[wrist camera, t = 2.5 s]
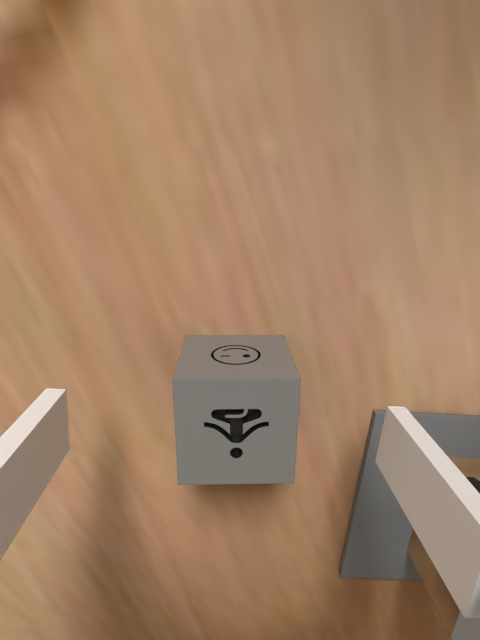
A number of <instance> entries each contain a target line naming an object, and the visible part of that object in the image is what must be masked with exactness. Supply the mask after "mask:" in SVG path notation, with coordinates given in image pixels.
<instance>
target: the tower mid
mask: <svg viewBox="0 0 480 640" xmlns="http://www.w3.org/2000/svg"><path fill="white" fill-rule="evenodd" d="M451 639H452V640H480V618H464V617H463V615H462V613H461V611H460V613H459V616H458V619H457V622H456V624H455V627H454V630H453V633H452V636H451Z"/></svg>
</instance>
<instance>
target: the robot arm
mask: <svg viewBox="0 0 480 640" xmlns="http://www.w3.org/2000/svg"><path fill="white" fill-rule="evenodd" d="M69 449H70V444H69V428H68V411H67V395H66V389H49V388H46V389H45V390H44V392H43V393H42V394H41V395H40V396H39V397H38V398H37V399H36V400H35V401H34V402H33V403H32V404H31V405H30V406H29V407H28V409H27V410H26V411H25V412H24V413H23V414H22V415H21V416H20V417H19V418H18V419H17V420H16V421H15V422H14V423H13V424H12V426H11V427H10V428H9V429H8V430H7V431H6V432H5V433H4V434H3V435H2V436H1V437H0V560H1V559H2V557H3V555H4V554H5V552H6V550H7V549H8V547H9V546H10V544H11V542H12V541H13V539H14V538H15V536H16V534H17V533H18V531H19V530H20V528H21V526H22V525H23V523H24V521H25V520H26V518H27V517H28V515H29V513H30V512H31V510H32V509H33V507H34V505H35V504H36V502H37V501H38V499H39V497H40V496H41V494H42V492H43V491H44V489H45V488H46V486H47V484H48V483H49V481H50V480H51V478H52V476H53V475H54V473H55V472H56V470H57V468H58V467H59V465H60V463H61V462H62V460H63V459H64V457H65V455H66V454H67V452H68V451H69ZM375 462H376V464H377V466H378V467H379V469H380V471H381V473H382V474H383V476H384V478H385V480H386V481H387V483H388V485H389V487H390V488H391V490H392V492H393V494H394V495H395V497H396V499H397V501H398V502H399V504H400V506H401V508H402V509H403V511H404V513H405V515H406V516H407V518H408V520H409V522H410V524H411V525H412V527H413V529H414V531H415V532H416V534H417V536H418V538H419V539H420V541H421V543H422V545H423V546H424V548H425V550H426V552H427V553H428V555H429V557H430V559H431V560H432V562H433V564H434V566H435V567H436V569H437V571H438V573H439V574H440V576H441V578H442V580H443V581H444V583H445V585H446V587H447V588H448V590H449V592H450V594H451V595H452V597H453V599H454V601H455V602H456V604H457V606H458V608H459V610H460V611H461V613H462V615H463V617H464V618H480V481H479V480H477V479H476V478H474V477H465V476H464V475H463V474H462V472H461V471H460V470H459V469H458V468H457V467H456V466H455V464H454V463H453V462H452V461H451V460H450V459H449V457H448V456H447V455H446V454H445V453H444V452H443V450H442V449H441V448H440V447H439V446H438V445H437V443H436V442H435V441H434V440H433V439H432V438H431V437H430V435H429V434H428V433H427V432H426V431H425V430H424V428H423V427H422V426H421V425H420V424H419V423H418V421H417V420H416V419H415V418H414V417H413V416H412V414H411V413H410V412H409V411H408V410H407V409H406V407H397V406H387V409H386V414H385V419H384V423H383V428H382V433H381V437H380V442H379V447H378V451H377V456H376V460H375Z"/></svg>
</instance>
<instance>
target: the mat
mask: <svg viewBox="0 0 480 640" xmlns="http://www.w3.org/2000/svg"><path fill="white" fill-rule="evenodd" d="M410 413H411V414H412V416H413V417H414V418H415V419H416V420H417V421H418V423H419V424H420V425H421V426H422V427H423V428H424V430H425V431H426V432H427V433H428V434H429V435H430V437H431V438H432V439H433V440H434V441H435V442H436V443H437V445H438V446H439V447H440V448H441V449H442V450H443V452H444V453H445V454H446V455H447V456H448V457H466V458H480V416H474V415H455V414H437V413H418V412H410ZM385 414H386V411H381V410H373V414H372V419H371V424H370V428H369V433H368V438H367V442H366V447H365V452H364V457H363V461H362V466H361V471H360V475H359V480H358V485H357V489H356V494H355V499H354V504H353V508H352V513H351V518H350V522H349V527H348V532H347V537H346V541H345V546H344V551H343V555H342V560H341V565H340V570H339V574H340V577H341V578H365V579H398V580H422V579H421V577H420V575H419V573H418V571H417V569H416V567H415V565H414V563H413V561H412V559H411V557H410V555H409V553H408V551H407V548H408V545H409V541H410V537H411V534H412V530H413V527H412V525H411V524H410V522H409V520H408V518H407V516H406V515H405V513H404V511H403V509H402V508H401V506H400V504H399V502H398V501H397V499H396V497H395V495H394V494H393V492H392V490H391V488H390V487H389V485H388V483H387V481H386V480H385V478H384V476H383V474H382V473H381V471H380V469H379V467H378V466H377V464H376V462H375V460H376V456H377V451H378V447H379V442H380V437H381V433H382V428H383V423H384V419H385Z"/></svg>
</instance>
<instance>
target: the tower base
mask: <svg viewBox="0 0 480 640" xmlns="http://www.w3.org/2000/svg"><path fill="white" fill-rule="evenodd" d="M449 459H450V460H451V461H452V462H453V463H454V464H455V466H456V467H457V468H458V469H459V470H460V471H461V472H462V474H463V475H464V476H465V477H474V478H476V479H477V480H479V481H480V458H466V457H449ZM407 551H408V553H409V555H410V557H411V559H412V561H413V563H414V565H415V567H416V569H417V571H418V573H419V575H420V577H421V579H422V581H423V583H424V585H425V587H426V589H427V591H428V593H429V595H430V597H431V599H432V601H433V603H434V605H435V607H436V609H437V611H438V613H439V615H440V617H441V619H442V621H443V623H444V625H445V627H446V629H447V631H448V633H449V635H450V637H451V636H452V633H453V630H454V627H455V624H456V622H457V619H458V616H459V613H460V610H459V608H458V606H457V604H456V602H455V601H454V599H453V597H452V595H451V594H450V592H449V590H448V588H447V587H446V585H445V583H444V581H443V580H442V578H441V576H440V574H439V573H438V571H437V569H436V567H435V566H434V564H433V562H432V560H431V559H430V557H429V555H428V553H427V552H426V550H425V548H424V546H423V545H422V543H421V541H420V539H419V538H418V536H417V534H416V532H415V531H414V529H413V530H412V534H411V537H410V541H409V545H408V548H407Z"/></svg>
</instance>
